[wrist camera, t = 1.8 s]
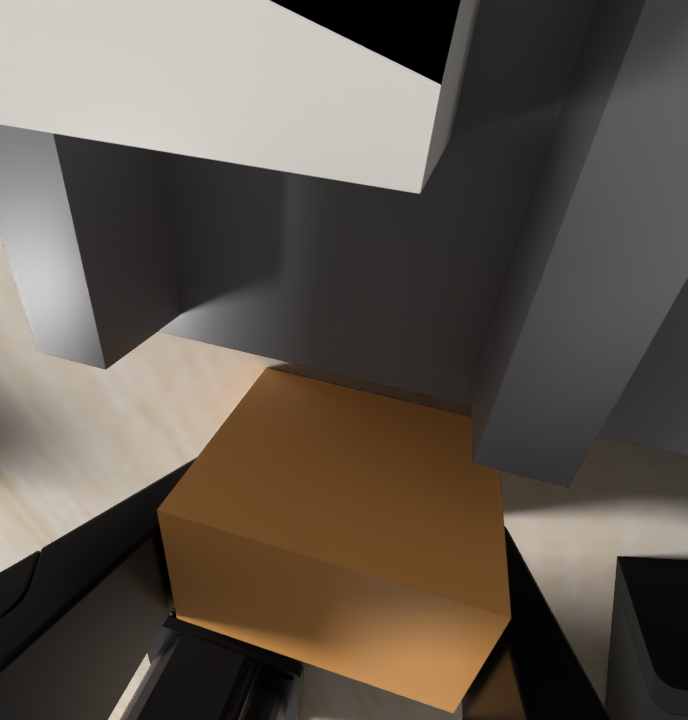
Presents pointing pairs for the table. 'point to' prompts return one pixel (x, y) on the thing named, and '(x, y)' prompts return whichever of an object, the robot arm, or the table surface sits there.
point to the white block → (228, 86)
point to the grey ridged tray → (413, 235)
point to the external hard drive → (649, 641)
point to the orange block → (344, 537)
